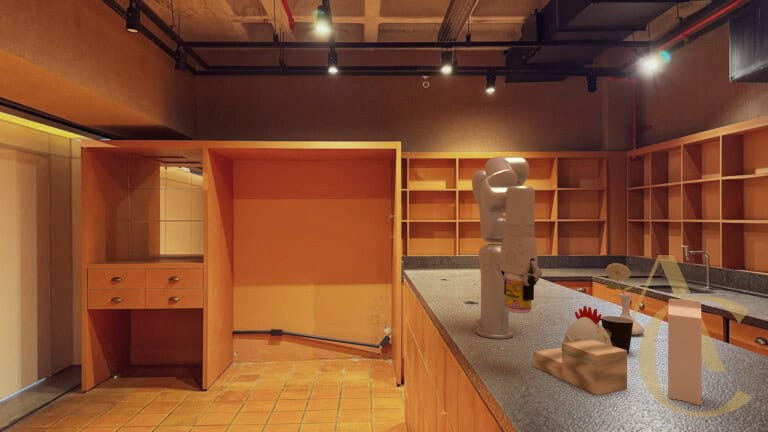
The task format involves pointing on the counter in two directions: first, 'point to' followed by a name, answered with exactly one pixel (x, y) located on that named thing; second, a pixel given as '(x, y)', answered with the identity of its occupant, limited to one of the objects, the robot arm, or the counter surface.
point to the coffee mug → (618, 331)
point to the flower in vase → (619, 274)
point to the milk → (685, 350)
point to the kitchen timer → (587, 328)
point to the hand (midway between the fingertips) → (518, 296)
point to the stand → (586, 365)
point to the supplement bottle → (516, 294)
